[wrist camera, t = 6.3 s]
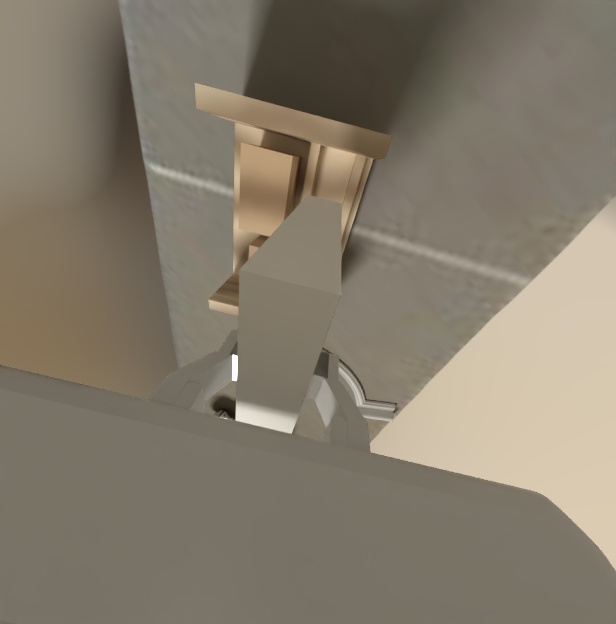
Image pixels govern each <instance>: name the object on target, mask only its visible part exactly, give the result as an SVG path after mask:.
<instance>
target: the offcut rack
mask: <svg viewBox="0 0 616 624" xmlns="http://www.w3.org/2000/svg"><path fill="white" fill-rule="evenodd" d="M195 93H196V109H199V110H202V111H205V112H207V113H210V114H213V115H216V116H218V117H221V118H224V119H227V120H229V121H232V122H235V169H234V246H233V275H232V276H231V277H230V278H229V279H228V280H227V281H226V282H225V283H224V284H223V285H222V286H221V287H220V288H219V289H218V290H217V291H216V293H215V294H214V295H213V296H212V297H211V298H210V299H209V309H213V310H217V311H221V312H225V313H229V314H233V315H237V316H238V308H239V270H240V269H241V267H242V266H243V265H244V264H245V263H246V262H247V261H248V257H249V245H250V244H251V243H252V242H253V241H254V240H255V239H256V238H257V237H259V236H260V235H261V234H257V233H253V232H249V231H245V230H242V229H239V195H240V156H241V143H247V144H252V145H257V146H262V147H266V148H270V149H273V150H277V151H281V152H285V153H289V154H292V155H296V156H300V157H302V160H301V167H300V173H299V179H298V185H297V191H296V198H295V204H294V210H295V208H296V207H297V206H298V205H299V204H300V203H301V202H302V201H303V200H304V199H305V197H306V196H307V195H311V196H315V197H319V198H323V199H327V200H330V201H334V202H338V203H342V231H341V259H342V255H343V252H344V249H345V246H346V243H347V240H348V237H349V233H350V230H351V227H352V224H353V221H354V218H355V215H356V212H357V208H358V205H359V202H360V199H361V196H362V193H363V190H364V187H365V183H366V180H367V177H368V174H369V171H370V168H371V165H372V162H373V159H385V157H386V154H387V151H388V148H389V145H390V142H391V139H392V136H390V135H387V134H383V133H379V132H376V131H372V130H368V129H364V128H361V127H357V126H353V125H350V124H346V123H342V122H338V121H335V120H331V119H327V118H323V117H320V116H316V115H312V114H309V113H305V112H301V111H297V110H294V109H290V108H286V107H282V106H279V105H275V104H271V103H268V102H264V101H260V100H256V99H253V98H249V97H245V96H242V95H238V94H234V93H230V92H227V91H223V90H219V89H215V88H212V87H208V86H204V85H201V84H197V83H195ZM294 210H293V211H294Z"/></svg>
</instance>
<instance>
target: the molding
mask: <svg viewBox="0 0 616 624" xmlns="http://www.w3.org/2000/svg"><path fill="white" fill-rule="evenodd" d="M321 351H322V352H326V351H325V350H323V349H322V350H321ZM327 353H328V352H327ZM339 381H340V382H342V384H343V385H344V387H345V388H346V390H347V392H348V393H349V395H350V396H351V398H352V399H353V401H354V403H355V404H356V406H357V407H358V409H359V411H360V412H361V414H362V415H363V417H364V418H371V419H378V420H385V421H393V411H394V410H395V404H393V403H385V402H378V401H370V400H365V397H364V393H363V390H362V388H361V386H360V384H359V382H358V380H357V379H356V377H355V376H354V375H353V373H352V372H351V371H350V370H349V369H348V368H347V367H346V366H345V365H344V364H343V363H342V362H340V361H339Z"/></svg>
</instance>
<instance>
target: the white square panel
mask: <svg viewBox="0 0 616 624" xmlns="http://www.w3.org/2000/svg"><path fill="white" fill-rule="evenodd" d="M341 231H342V203H338V202H334V201H330V200H327V199H323V198H319V197H315V196H311V195H307V196H306V197H305V199H304V200H303V201H302V202H301V203H300V204H299V205H298V206H297V207H296V208H295V210H294V211H293V212H292V213H291V214H290V215H289V216H288V217H287V218H286V219H285V220H284V222H283V223H282V224H281V225H280V226H279V227H278V228H277V229H276V230H275V231H274V232H273V234H272V235H271V236H270V237H269V238H268V239H267V240H266V241H265V242H264V243H263V244H262V246H261V247H260V248H259V249H258V250H257V251H256V252H255V253H254V254H253V255H252V257H251V258H250V259H249V260H248V261H247V262H246V263H245V264H244V265H243V266H242V267H241V269H240V270H239V308H238V345H237V383H236V421H240V422H244V423H248V424H252V425H257V426H261V427H265V428H269V429H273V430H278V431H282V432H286V433H290V434H292V431H293V429H294V426H295V423H296V420H297V417H298V415H299V412H300V409H301V406H302V403H303V401H304V398H305V395H306V392H307V389H308V387H309V384H310V381H311V378H312V375H313V373H314V370H315V367H316V364H317V361H318V359H319V356H320V353H321V350H322V347H323V345H324V342H325V339H326V336H327V333H328V331H329V328H330V325H331V322H332V319H333V317H334V314H335V311H336V308H337V305H338V303H339V300H340V297H341Z"/></svg>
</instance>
